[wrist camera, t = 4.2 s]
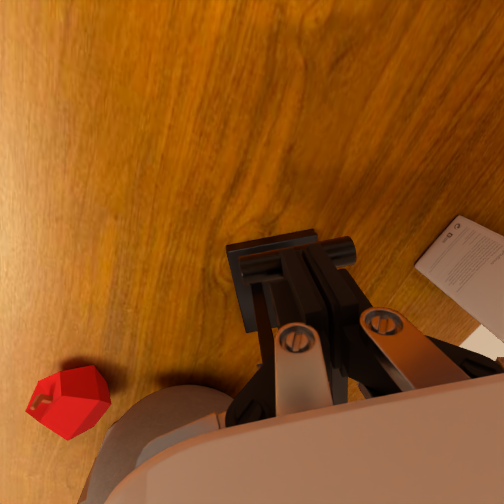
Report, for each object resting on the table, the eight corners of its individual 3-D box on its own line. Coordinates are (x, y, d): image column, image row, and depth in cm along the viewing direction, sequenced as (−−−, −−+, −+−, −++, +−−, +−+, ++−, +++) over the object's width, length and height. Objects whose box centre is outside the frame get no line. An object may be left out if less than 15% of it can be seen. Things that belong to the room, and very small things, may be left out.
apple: (119, 439, 29) (49, 436, 23) (69, 444, 31) (-8, 443, 25) (132, 369, 33) (75, 351, 27) (87, 377, 35) (25, 362, 29)
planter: (280, 386, 36) (329, 626, 20) (255, 417, 39) (281, 648, 23) (133, 351, 31) (36, 645, 14) (117, 390, 33) (22, 672, 17)
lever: (236, 243, 13) (241, 280, 11) (341, 223, 13) (363, 256, 11) (265, 367, 21) (270, 400, 19) (330, 354, 21) (342, 386, 19)
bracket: (225, 245, 25) (229, 349, 15) (313, 228, 25) (376, 321, 15) (245, 325, 30) (258, 444, 20) (318, 311, 30) (367, 422, 20)
